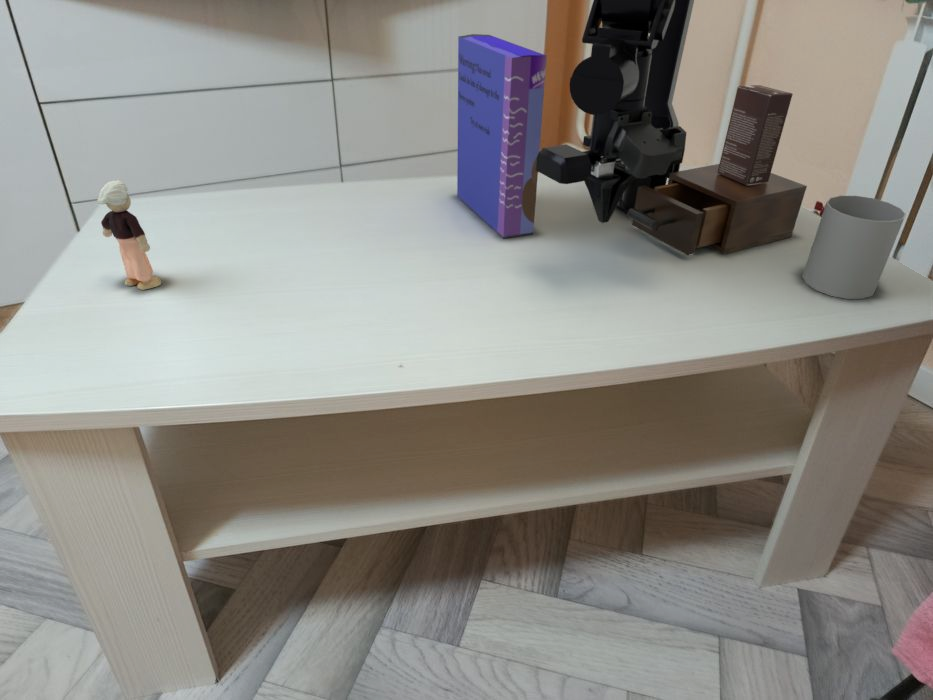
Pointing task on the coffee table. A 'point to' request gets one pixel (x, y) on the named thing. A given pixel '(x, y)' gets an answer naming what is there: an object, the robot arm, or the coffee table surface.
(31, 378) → the coffee table surface
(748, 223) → the cabinet
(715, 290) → the coffee table surface
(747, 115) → the box
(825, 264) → the cup
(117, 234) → the grandmother figurine
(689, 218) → the drawer
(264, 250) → the coffee table surface
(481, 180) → the cereal box
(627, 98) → the robot arm
